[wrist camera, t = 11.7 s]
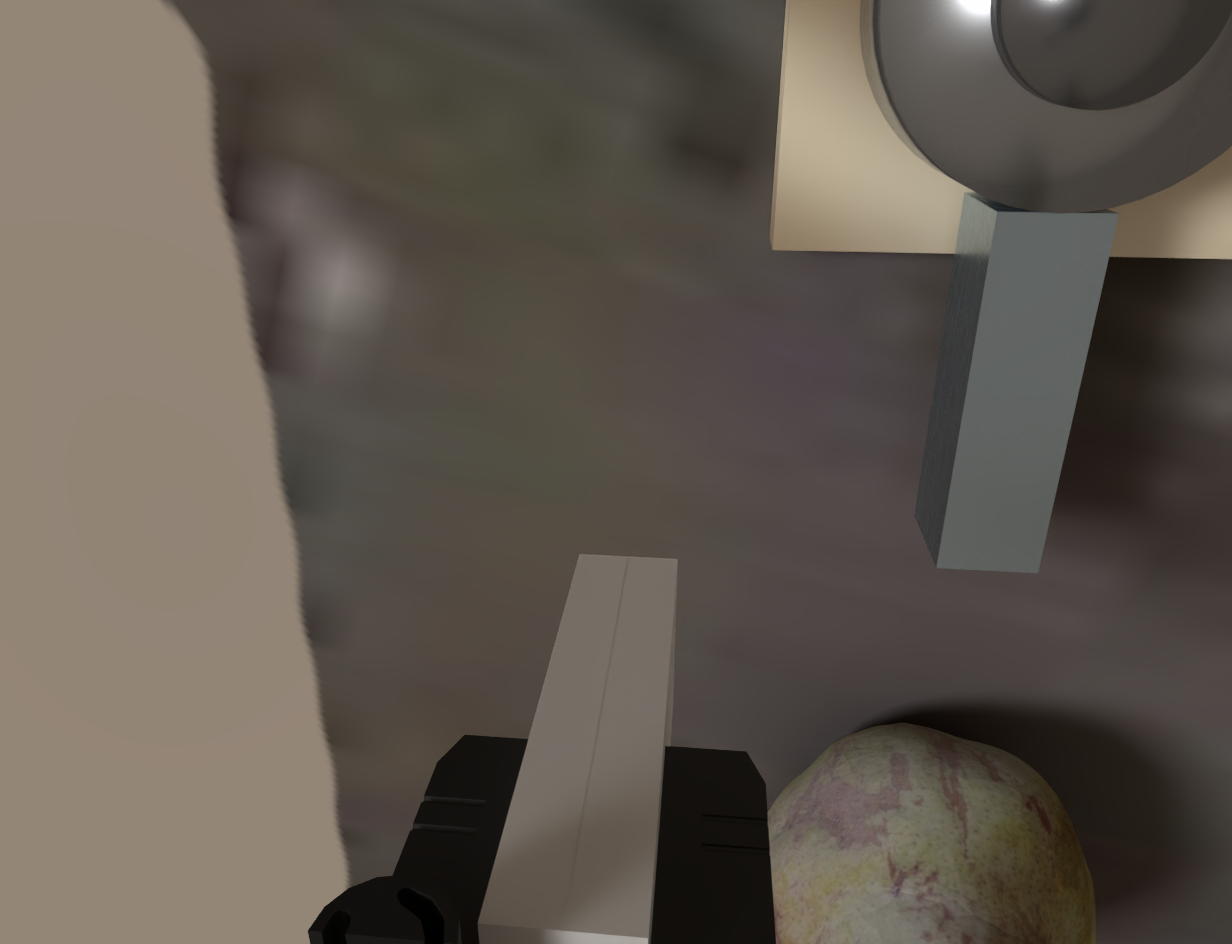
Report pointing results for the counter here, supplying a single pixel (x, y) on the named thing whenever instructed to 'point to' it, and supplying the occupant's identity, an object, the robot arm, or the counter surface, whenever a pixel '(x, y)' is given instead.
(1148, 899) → the counter surface
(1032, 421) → the grey metal pan
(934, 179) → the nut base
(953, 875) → the fruit
